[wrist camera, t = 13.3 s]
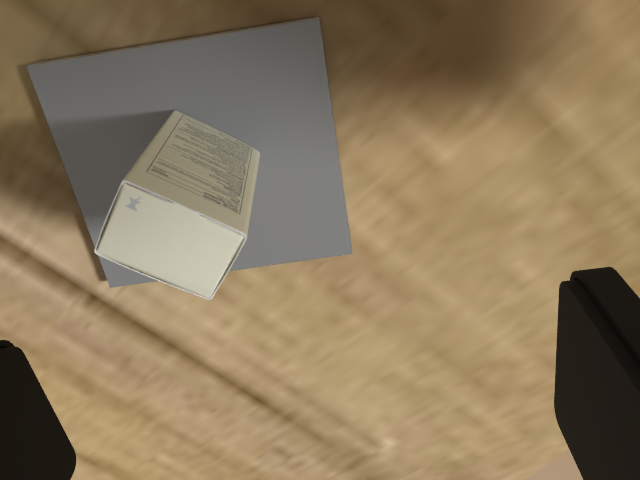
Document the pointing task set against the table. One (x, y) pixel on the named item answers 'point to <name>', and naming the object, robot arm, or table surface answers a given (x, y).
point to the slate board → (218, 112)
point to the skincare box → (183, 207)
